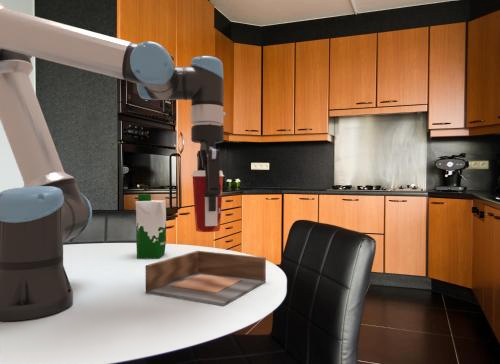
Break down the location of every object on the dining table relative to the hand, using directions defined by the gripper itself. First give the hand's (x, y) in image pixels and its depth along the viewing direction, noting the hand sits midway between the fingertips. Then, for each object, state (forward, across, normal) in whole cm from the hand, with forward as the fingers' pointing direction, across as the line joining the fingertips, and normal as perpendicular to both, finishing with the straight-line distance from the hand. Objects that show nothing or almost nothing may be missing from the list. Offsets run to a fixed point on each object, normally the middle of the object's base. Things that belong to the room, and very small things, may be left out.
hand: (207, 223), depth 92 cm
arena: (+15, -1, 0) cm, 15 cm away
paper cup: (+2, 0, 0) cm, 2 cm away
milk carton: (+15, +40, +10) cm, 44 cm away
